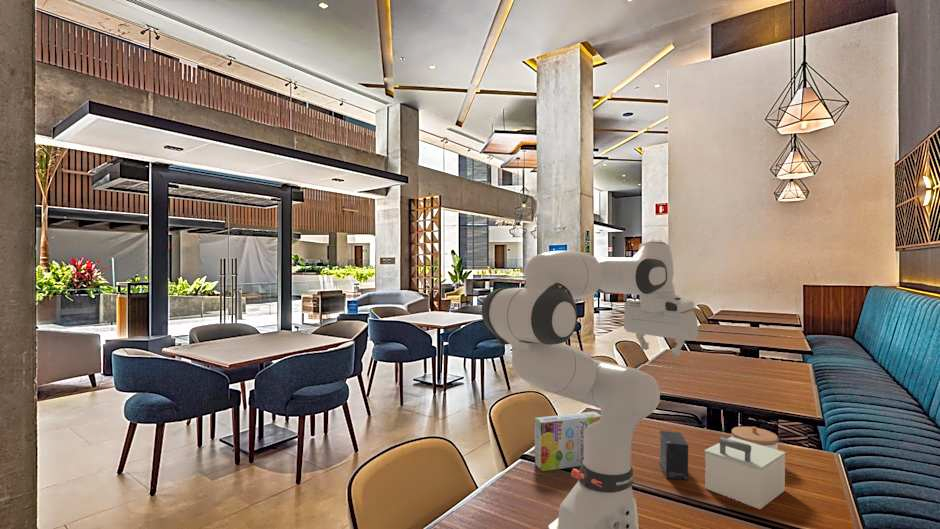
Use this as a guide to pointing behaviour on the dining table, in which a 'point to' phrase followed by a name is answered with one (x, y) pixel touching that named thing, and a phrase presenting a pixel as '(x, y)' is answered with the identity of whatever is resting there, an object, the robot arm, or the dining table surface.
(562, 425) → the snack box
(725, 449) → the lid
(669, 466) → the small box
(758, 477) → the carton
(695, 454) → the dining table surface
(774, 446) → the lidded bowl
